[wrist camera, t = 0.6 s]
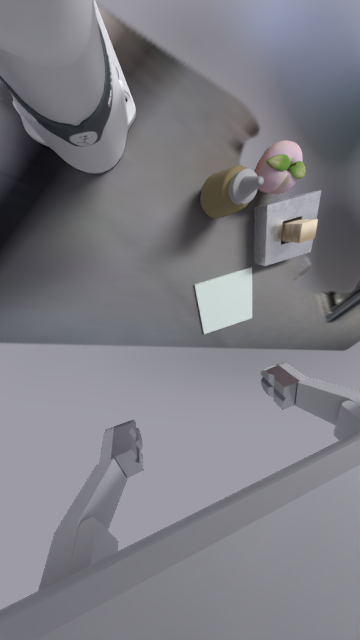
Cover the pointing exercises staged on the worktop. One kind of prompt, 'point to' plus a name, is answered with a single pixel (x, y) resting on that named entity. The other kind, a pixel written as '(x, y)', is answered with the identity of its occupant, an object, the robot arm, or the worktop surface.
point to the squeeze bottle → (229, 191)
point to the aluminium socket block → (270, 227)
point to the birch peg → (298, 230)
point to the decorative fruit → (280, 167)
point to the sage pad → (225, 300)
